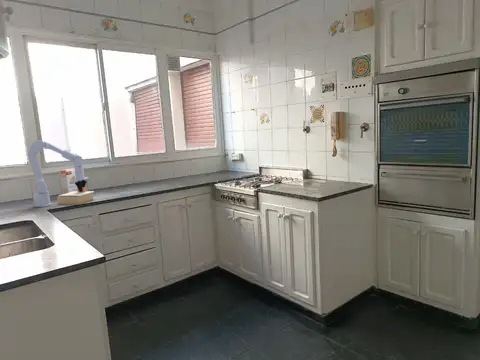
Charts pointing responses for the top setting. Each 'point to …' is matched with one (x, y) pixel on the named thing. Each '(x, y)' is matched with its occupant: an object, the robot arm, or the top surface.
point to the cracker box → (68, 180)
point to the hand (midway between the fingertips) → (81, 191)
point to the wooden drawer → (74, 199)
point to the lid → (77, 193)
